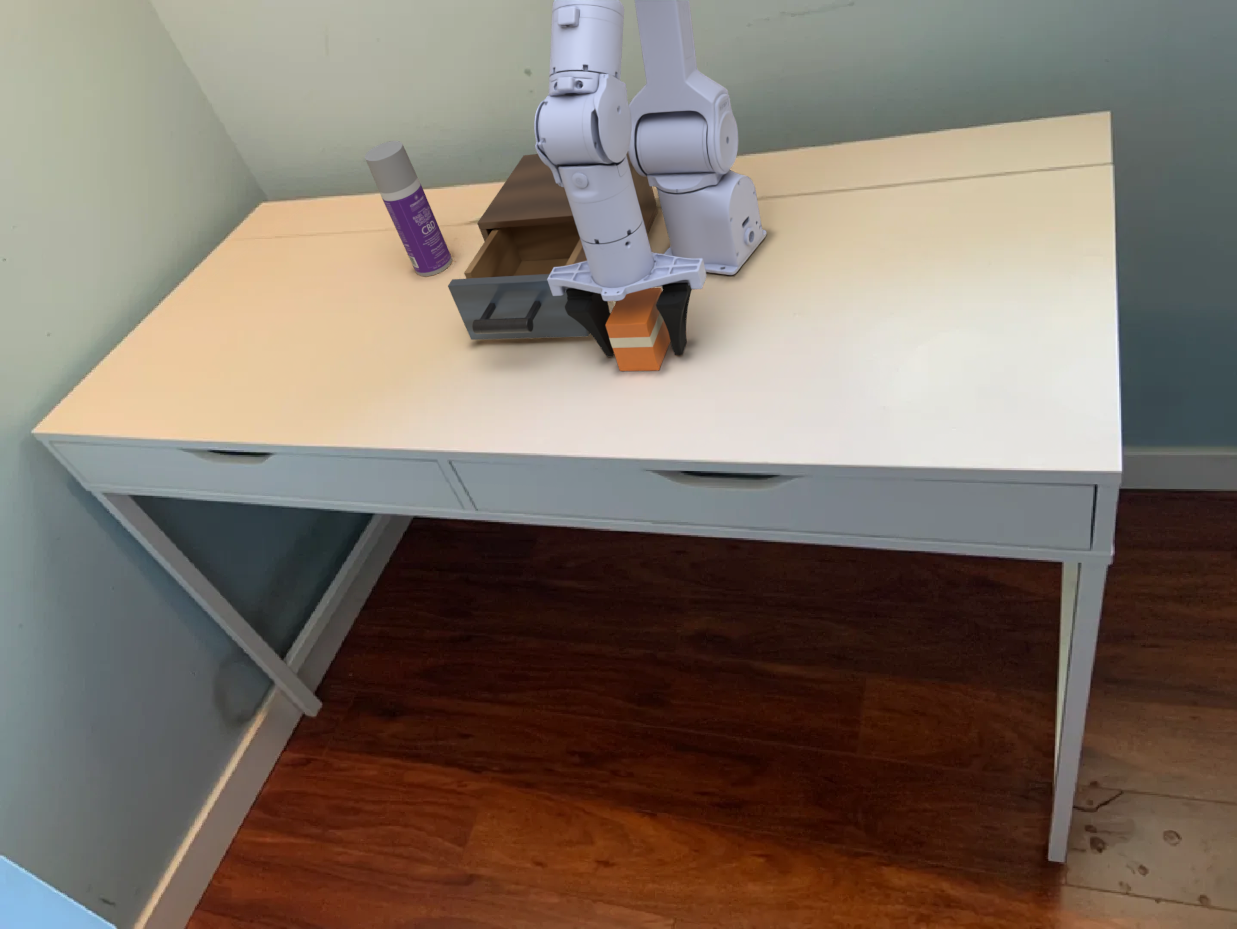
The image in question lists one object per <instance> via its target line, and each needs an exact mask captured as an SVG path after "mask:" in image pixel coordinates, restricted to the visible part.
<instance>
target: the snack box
mask: <svg viewBox="0 0 1237 929" xmlns="http://www.w3.org/2000/svg"><path fill="white" fill-rule="evenodd" d="M662 290H663V288H662V287H653V288H649V289H645V290H641V291H637V292H633V293H629V294H626V296H625V298H624V299H622V300H619V301H615V303H614V306H613V307H612V310H611V312H610V316H609V318H608V320H607V322H606V329H607V332H608V335H609V339H610V342H611V346H612V348H613V351H614V354H613V355H614V357H615V361H616V363H617V367H618V370H619V372H642V371H643V372H644V371H647V372H648V371H651V372H652V371H660V369H661V367H662V364H663V361H664V359H665V356H666V353H667V351H668V348H669V346H670V344H671V341H670V337H669V333H668V330H667V327H666V324H665V322H664V320H663V318H662V316H661V314H660V313H659V311H658V310H657V307H656V303H657V301H658V299H659V296H660V294H661V292H662Z"/></svg>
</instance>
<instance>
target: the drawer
mask: <svg viewBox="0 0 1237 929" xmlns="http://www.w3.org/2000/svg"><path fill="white" fill-rule="evenodd" d="M584 261H587V258H586V255H585V252H584V249H583V246H582V242H581V239H580V236H579V233H578V230H577V227H576V224H575V222H570V223H558V224H545V225H532V226H519V227H506V228H493V230H492V231H491V233H490V234H489V236H488V237H487V239H486V240H485V242H483V244H481V247H479V249H478V251H477V253H476V254H475V255H474V257H473V258H472V260H471V261H470V263H469V265H468V266H467V267H466V269H465V270H464V272H463V274H464V277H465V278H452V279H451V280H450V282H449V283H448V285H447V288H448V290H449V292H450V296H451V297H452V299H453V302H454V304H455V307H456V309H457V311H458V313H459V315H460V317H461V320H462V323H463V324H464V327H465V329H466V331H467V334H468V336H469V338H470V341H479V340H480V341H481V340H511V339H512V340H513V339H514V340H515V339H547V338H548V339H550V338H580V337H584V338H585V337H590V336H591V334H590V333H589V332H588V331H587V330H586V329H585V328H584V327H583V326H582V325H581V324H580V323H579V322H577V321H576V320H575V319H573V318H572V317H570V316H569V315H568V314H567V312H566V310H565V305H566V303H567V301H568V300H567V297H568V296H567V293H566V291H565V293H564V294H563V295H561V296H553V295H552V292H551V289H550V286H549V283H548V281H547V279H548V277H549V275H550V273H551V271H552V270H553V268H554V267H561V266H568V265H572V264H576V263H580V262H584Z"/></svg>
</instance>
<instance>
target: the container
mask: <svg viewBox="0 0 1237 929" xmlns="http://www.w3.org/2000/svg"><path fill="white" fill-rule="evenodd" d="M364 159H365V162H366V164H367V166H368V169H369V171H370V174H371V176H372V178H373V181H374V183H375V185H376V187H377V190H378V193H379V195H380V197H381V199H382V201H383V204H384V206H385V208H386V211H387V212H388V215H389V217H390V219H391V222H392V224H393V226H394V228H395V230H396V232H397V234H398V237H399V238H400V240H401V243H402V245H403V247H404V250H405V251H406V255H407V257H408V258H409V260H410V262H411V265H412V267H413V269H414V271H415V273H416V274H417V275H418V276H420V277H432V276H435V275H437V274H440V273H442V272H444V271H445V270H447V269H448V268H449V267H450V266H451V264H452V263H453V257H452V254H451V253H450V250H449V248H448V245H447V243H446V241H445V238H444V236H443V233H442V231H441V228H440V226H439V224H438V221H437V219H436V216H435V214H434V212H433V209H432V206H431V204H430V202H429V200H428V197H427V195H426V192H425V191H424V188H423V186H422V184H421V181H420V178H419V176H418V175H417V173H416V171H415V168H414V166H413V164H412V161H411V159H410V157H409V155H408V153H407V150H406V148H405V146H404V144H403V142H402V141H399V140H390V141H386V142H385V141H384V142H382V143H380V144H378V145H376V146H373V147H372V148H371V149H369V150H368V151H367V152H366V153H365V155H364Z"/></svg>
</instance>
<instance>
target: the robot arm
mask: <svg viewBox="0 0 1237 929" xmlns="http://www.w3.org/2000/svg"><path fill="white" fill-rule="evenodd" d="M690 2H691V0H634V8H635V13H636V20H637V27H638V35H639V41H640V47H641V48H640V49H641V54H642V62H643V68H644V69H643V70H644V76H645V84H644V85H643V86H642V87H641V89H639V91H638V92H637V93H636V94H635V95H634V96H633V98H631V100H630V102H629V101H628V100H629V99H628V89H627V84H626V82H624V81H623V80H621V76H622V59H623V58H622V57H623V40H624V39H623V38H624V19H625V7H624V5H623V3H622V2H621V0H553V2H552V5H551V6H552V7H551V8H552V9H551V24H550V25H551V26H550V29H551V30H550V48H549V49H550V50H549V51H550V52H549V73H548V95H547V96H546V97H545V98H544V99H543V100H542V101H540V102H539V104H538V106H537V108H536V111H535V114H534V122H533V129H534V130H533V132H534V137H535V145H534V149H535V151H536V154H538V155H539V157H540V159H541V160H542V161H543V163H544V164H546V165H547V166H548V167H549V168H550V169H551V171H552V173H553V176H554V179H555V182H556V183H558V185H559V186H561V187H564V189H565V192H566V195H567V198H568V201H569V204H570V207H571V211H572V214H573V217H574V220H575V224H576V227H577V230H578V233H579V236H580V239H581V242H582V246H583V249H584V252H585V255H586V258H587V261H584V262H580V263H576V264H572V265H568V266H561V267H554V268H553V270H552V271H551V273H550V275H549V277H548V279H547V281H548V283H549V286H550V289H551V292H552V295H553V296H561V295H563V294H564V293H565V291H566V293H567V296H568V297H567V300H568V301H567V303H566V305H565V310H566V312H567V314H568V315H569V316H570V317H572V318H573V319H575V320H576V321H577V322H579V323H580V324H581V325H582V326H583V327H584V328H585V329H586V330H587V331H588V332H589V333H590V336H591V337H592V338H593V339H594V340H595V342H596V343H597V345H598V346H599V348H600V349H601V350H602V352H603V354H604V355H605V356H606V358H607V357H608V358H610V357H613V356H614V355H615V354H614V351H613V348H612V346H611V342H610V339H609V335H608V332H607V329H606V322H607V320H608V318H609V316H610V314H611V312H610V307H609V303H608V302H616V301H619V300H622V299H624V298H625V296H626V294H629V293H633V292H637V291H641V290H645V289H649V288H661V289H662V292H661V294H660V296H659V299H658V301H657V303H656V307H657V310H658V311H659V313H660V314H661V316H662V318H663V320H664V322H665V324H666V327H667V330H668V333H669V337H670V345H671V349H672V352H673V354H674V356H683V354H684V351H685V348H686V347H687V346H686V345H687V340H688V339H687V318H688V310H689V303H690V298H691V294H692V291H693V290H702V289H703V287H704V285H705V283H706V280H707V273H711V274H721V275H726V276H733V275H735V274H737V273H738V271H739V270H740V269H741V267H742V266H743V265H744V264H745V263H746V262H747V260H748V259H749V258H750V257H751V255H752V254H753V253H754V251H755V250H756V249H757V248H758V247H759V245H760V244H761V243H762V241H763V240H764V239H765V238H766V236H767V234H768V233H767V230H765V229H763V225H762V220H761V213H760V207H759V202H758V196H757V190H756V186H755V183H754V181H753V180H752V178H751V177H749V176H748V175H745V174H741V173H737V172H735V171H733V170H731V168H732V167H733V166H734V165H735V163H736V160H737V156H738V150H739V130H738V124H737V120H736V118H735V115H734V113H733V109H732V104H731V98H730V95H729V90H728V89H727V88H726V87H725V86H723V84H720V83H718V82H717V81H715V80H714V79H712V78H710V77H708V76H707V75H706V74H704V73H702V72H701V71H700V70H699V69H698V64H697V63H698V62H697V55H696V54H697V53H696V46H695V38H694V36H695V35H694V28H693V21H692V11H691V3H690ZM627 152H628V153H629V158H630V161H631V163H632V165H633V167H634V168H635V170H636V171H637V173H638V174H639V175H641V176H644V177H646V176H647V178H648V182H649V186H652V187H655V188H656V192H657V196H658V199H659V200H658V201H659V204H660V208H661V212H662V216H663V217H662V218H663V221H664V225H665V228H666V233H667V237H668V241H669V247H668V248H667V249H666V250H665V252H664V253H658V252H653V251H652V248H651V245H650V241H649V237H648V234H647V233H646V229H645V225H644V221H643V217H642V214H641V210H640V206H639V202H638V199H637V195H636V191H635V187H634V183H633V179H632V175H631V171H630V168H629V164H628V160H627V156H626V154H627Z"/></svg>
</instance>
